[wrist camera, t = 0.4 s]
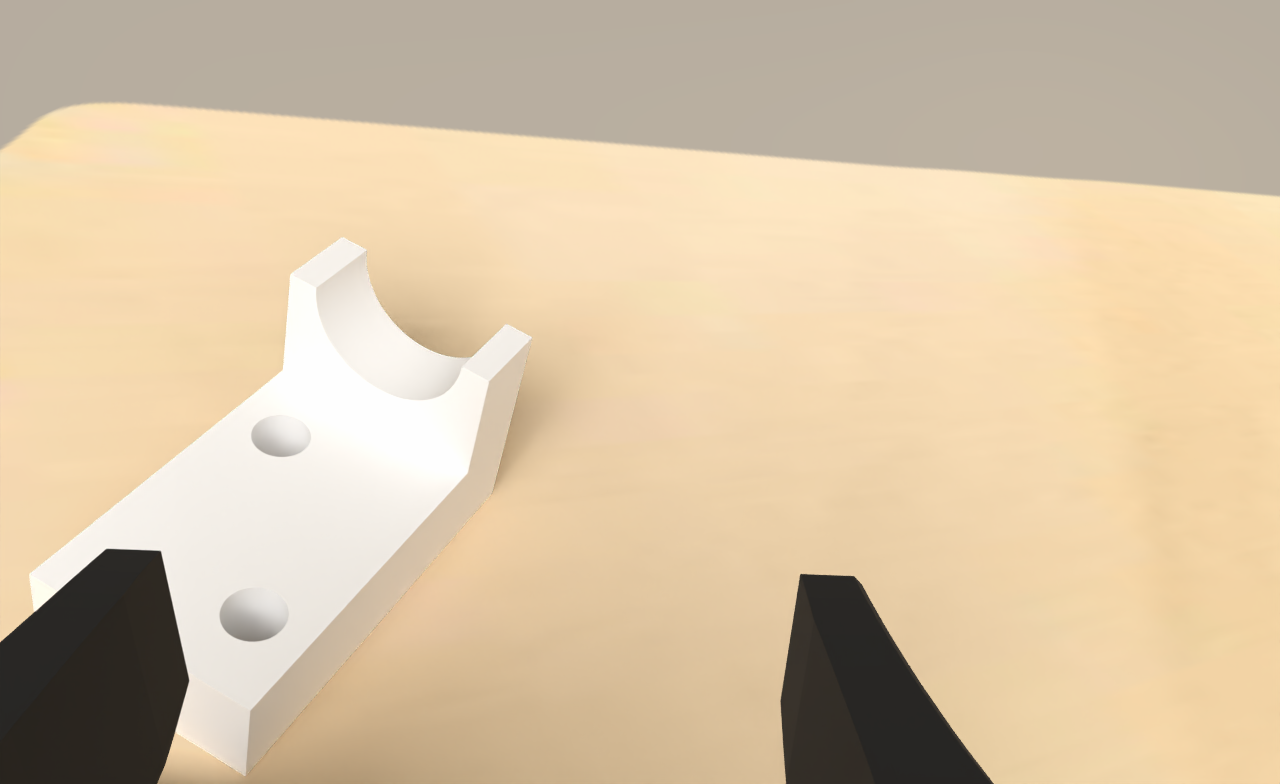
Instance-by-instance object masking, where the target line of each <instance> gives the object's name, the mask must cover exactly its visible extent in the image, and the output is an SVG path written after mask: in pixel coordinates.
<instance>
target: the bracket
mask: <svg viewBox="0 0 1280 784" xmlns="http://www.w3.org/2000/svg"><path fill="white" fill-rule="evenodd" d="M366 257H367V250H366V249H364V248H362V247H360V246H358V245H357V244H355V243H353V242H351V241H349V240H347V239H345V238H343V237H342V238H340V239H339V240H337V241H336V242H335V243H333V244H332V245H330V246H329V247H328V248H326V249H325V250H323V251H322V252H321V253H319V254H318V255H316V256H315V257H314V258H312V259H311V260H309V261H308V262H307V263H305V264H304V265H303V266H301V267H300V268H298V269H297V270H296V271H294V272H293V273H291V276H290V288H289V301H288V313H287V326H286V338H285V351H284V364H283V371H281V372H280V373H279V374H278V375H276V376H275V377H274V378H273V379H271V380H270V381H269V382H268V383H266V384H265V385H264V386H263V387H261V388H260V389H259V390H258V391H256V392H255V393H254V394H253V395H251V396H250V397H249V398H248V399H247V400H245V401H244V402H243V403H242V404H240V405H239V406H238V407H237V408H235V409H234V410H233V411H232V412H230V413H229V414H228V415H227V416H225V417H224V418H223V419H222V420H220V421H219V422H218V423H217V424H215V425H214V426H213V427H212V428H210V429H209V430H208V431H207V432H205V433H204V434H203V435H202V436H200V437H199V438H198V439H197V440H195V441H194V442H193V443H192V444H190V445H189V446H188V447H187V448H186V449H184V450H183V451H182V452H181V453H179V454H178V455H177V456H176V457H174V458H173V459H172V460H171V461H169V462H168V463H167V464H166V465H164V466H163V467H162V468H161V469H159V470H158V471H157V472H156V473H154V474H153V475H152V476H151V477H149V478H148V479H147V480H146V481H144V482H143V483H142V484H141V485H139V486H138V487H137V488H136V489H134V490H133V491H132V492H131V493H130V494H128V495H127V496H126V497H125V498H123V499H122V500H121V501H120V502H118V503H117V504H116V505H115V506H113V507H112V508H111V509H110V510H108V511H107V512H106V513H105V514H103V515H102V516H101V517H100V518H98V519H97V520H96V521H95V522H93V523H92V524H91V525H90V526H88V527H87V528H86V529H85V530H83V531H82V532H81V533H80V534H78V535H77V536H76V537H75V538H73V539H72V540H71V541H70V542H69V543H67V544H66V545H65V546H64V547H62V548H61V549H60V550H59V551H57V552H56V553H55V554H54V555H52V556H51V557H50V558H49V559H47V560H46V561H45V562H44V563H42V564H41V565H40V566H39V567H37V568H36V569H35V570H34V571H32V572H31V573H30V574H29V576H30V584H31V592H32V600H33V608H34V612H35V611H36V610H37V609H39V608H40V607H41V606H42V605H43V604H44V603H45V602H46V601H47V600H49V599H50V598H51V597H52V596H53V595H54V594H55V593H56V592H58V591H59V590H60V589H61V588H62V587H63V586H64V585H65V584H67V583H68V582H69V581H70V580H71V579H72V578H73V577H74V576H76V575H77V574H78V573H79V572H80V571H81V570H82V569H84V568H85V567H86V566H87V565H88V564H89V563H90V562H91V561H93V560H94V559H95V558H96V557H97V556H98V555H100V554H101V553H102V552H103V551H104V550H105V549H130V550H157V551H161V553H162V558H163V562H164V567H165V572H166V576H167V581H168V585H169V590H170V594H171V599H172V603H173V608H174V612H175V617H176V622H177V626H178V631H179V635H180V640H181V644H182V649H183V653H184V658H185V662H186V667H187V672H188V676H189V684H188V688H187V691H186V695H185V699H184V702H183V706H182V709H181V713H180V717H179V720H178V724H177V727H176V731H175V732H176V733H177V734H179V735H180V736H182V737H184V738H185V739H187V740H188V741H190V742H191V743H193V744H195V745H196V746H198V747H199V748H201V749H203V750H204V751H206V752H207V753H209V754H210V755H212V756H214V757H215V758H217V759H218V760H220V761H222V762H223V763H225V764H226V765H228V766H229V767H231V768H233V769H234V770H236V771H237V772H239V773H241V774H242V775H244V776H246V775H247V774H248V773H249V772H250V771H251V770H252V768H253V767H254V766H255V765H256V764H257V763H258V762H259V760H260V759H261V758H262V757H263V756H264V755H265V754H266V752H267V751H268V750H269V749H270V748H271V747H272V745H273V744H274V743H275V742H276V741H277V740H278V739H279V737H280V736H281V735H282V734H283V733H284V732H285V731H286V729H287V728H288V727H289V726H290V725H291V724H292V723H293V721H294V720H295V719H296V718H297V717H298V716H299V714H300V713H301V712H302V711H303V710H304V709H305V708H306V706H307V705H308V704H309V703H310V702H311V701H312V700H313V698H314V697H315V696H316V695H317V694H318V693H319V692H320V690H321V689H322V688H323V687H324V686H325V685H326V683H327V682H328V681H329V680H330V679H331V678H332V677H333V675H334V674H335V673H336V672H337V671H338V670H339V669H340V667H341V666H342V665H343V664H344V663H345V662H346V661H347V659H348V658H349V657H350V656H351V655H352V654H353V652H354V651H355V650H356V649H357V648H358V647H359V646H360V644H361V643H362V642H363V641H364V640H365V639H366V638H367V636H368V635H369V634H370V633H371V632H372V631H373V630H374V628H375V627H376V626H377V625H378V624H379V623H380V621H381V620H382V619H383V618H384V617H385V616H386V615H387V613H388V612H389V611H390V610H391V609H392V608H393V607H394V605H395V604H396V603H397V602H398V601H399V600H400V599H401V597H402V596H403V595H404V594H405V593H406V592H407V590H408V589H409V588H410V587H411V586H412V585H413V584H414V582H415V581H416V580H417V579H418V578H419V577H420V576H421V574H422V573H423V572H424V571H425V570H426V569H427V568H428V566H429V565H430V564H431V563H432V562H433V561H434V559H435V558H436V557H437V556H438V555H439V554H440V553H441V551H442V550H443V549H444V548H445V547H446V546H447V545H448V543H449V542H450V541H451V540H452V539H453V538H454V537H455V535H456V534H457V533H458V532H459V531H460V530H461V529H462V527H463V526H464V525H465V524H466V523H467V522H468V520H469V519H470V518H471V517H472V516H473V515H474V514H475V512H476V511H477V510H478V509H479V508H480V507H481V506H482V504H483V503H484V502H485V501H486V500H487V499H488V498H489V496H490V495H491V494H492V492H493V488H494V485H495V481H496V477H497V473H498V469H499V465H500V461H501V457H502V454H503V450H504V446H505V442H506V438H507V434H508V430H509V426H510V423H511V419H512V415H513V411H514V407H515V403H516V399H517V395H518V392H519V388H520V384H521V380H522V376H523V372H524V368H525V364H526V361H527V357H528V353H529V349H530V345H531V341H532V337H531V336H529V335H527V334H525V333H523V332H521V331H519V330H517V329H515V328H514V327H512V326H510V325H508V324H506V325H505V326H504V327H502V328H501V329H500V330H499V331H498V332H497V333H496V334H495V335H494V336H493V337H492V338H491V339H490V340H489V341H488V342H487V343H486V344H485V345H484V346H483V347H482V348H481V349H480V350H479V351H478V352H477V353H475V354H474V355H473V356H472V357H467V358H456V357H449V356H445V355H441V354H438V353H436V352H433V351H431V350H429V349H427V348H425V347H423V346H421V345H420V344H418V343H417V342H415V341H414V340H412V339H411V338H410V337H408V336H407V335H406V334H405V333H404V332H403V331H401V330H400V329H399V328H398V327H397V326H396V325H395V323H394V322H393V321H392V320H391V319H390V318H389V316H388V315H387V314H386V312H385V311H384V309H383V308H382V306H381V305H380V303H379V301H378V299H377V297H376V295H375V293H374V291H373V288H372V285H371V282H370V279H369V275H368V270H367V258H366Z"/></svg>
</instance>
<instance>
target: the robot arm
mask: <svg viewBox="0 0 1280 784" xmlns="http://www.w3.org/2000/svg"><path fill="white" fill-rule="evenodd" d="M188 684H189V676H188V672H187V667H186V662H185V658H184V653H183V649H182V644H181V640H180V635H179V631H178V626H177V622H176V617H175V612H174V608H173V603H172V599H171V594H170V590H169V585H168V581H167V576H166V572H165V567H164V562H163V558H162V553H161V551H157V550H130V549H105V550H104V551H103V552H102V553H101V554H100V555H98V556H97V557H96V558H95V559H94V560H93V561H91V562H90V563H89V564H88V565H87V566H86V567H85V568H84V569H82V570H81V571H80V572H79V573H78V574H77V575H76V576H74V577H73V578H72V579H71V580H70V581H69V582H68V583H67V584H65V585H64V586H63V587H62V588H61V589H60V590H59V591H58V592H56V593H55V594H54V595H53V596H52V597H51V598H50V599H49V600H47V601H46V602H45V603H44V604H43V605H42V606H41V607H40V608H39V609H37V610H36V611H35V612H34V613H33V614H32V615H31V616H30V617H28V618H27V619H26V620H25V621H24V622H23V623H22V624H21V625H19V626H18V627H17V628H16V629H15V630H14V631H13V632H12V633H10V634H9V635H8V636H7V637H6V638H5V639H4V640H2V641H1V642H0V784H157V783H158V780H159V778H160V775H161V773H162V771H163V768H164V766H165V763H166V760H167V757H168V753H169V750H170V747H171V744H172V740H173V737H174V734H175V731H176V727H177V724H178V720H179V717H180V713H181V709H182V706H183V702H184V699H185V695H186V691H187V688H188ZM781 716H782V732H783V748H784V761H785V774H786V784H994V783H993V782H992V781H991V780H990V778H989V777H988V776H987V774H986V773H985V772H984V771H983V769H982V768H981V767H980V765H979V764H978V763H977V762H976V760H975V759H974V758H973V756H972V755H971V754H970V753H969V751H968V750H967V749H966V747H965V746H964V744H963V743H962V742H961V740H960V739H959V738H958V736H957V735H956V734H955V732H954V731H953V729H952V728H951V727H950V725H949V724H948V722H947V721H946V719H945V718H944V717H943V715H942V714H941V712H940V711H939V709H938V708H937V706H936V705H935V703H934V702H933V701H932V699H931V698H930V696H929V695H928V693H927V692H926V690H925V689H924V688H923V686H922V685H921V683H920V682H919V680H918V678H917V677H916V675H915V674H914V672H913V671H912V669H911V668H910V666H909V665H908V663H907V661H906V660H905V658H904V657H903V655H902V653H901V652H900V650H899V648H898V647H897V645H896V644H895V642H894V640H893V639H892V637H891V635H890V634H889V632H888V630H887V629H886V627H885V625H884V624H883V622H882V620H881V618H880V617H879V615H878V613H877V611H876V610H875V608H874V606H873V604H872V602H871V601H870V599H869V597H868V595H867V593H866V591H865V590H864V588H863V586H862V584H861V583H860V582H859V581H858V580H857V579H856V578H855V577H854V576H834V575H807V574H800V580H799V586H798V592H797V599H796V605H795V612H794V618H793V625H792V631H791V637H790V644H789V650H788V657H787V663H786V669H785V676H784V682H783V689H782V695H781Z"/></svg>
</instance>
